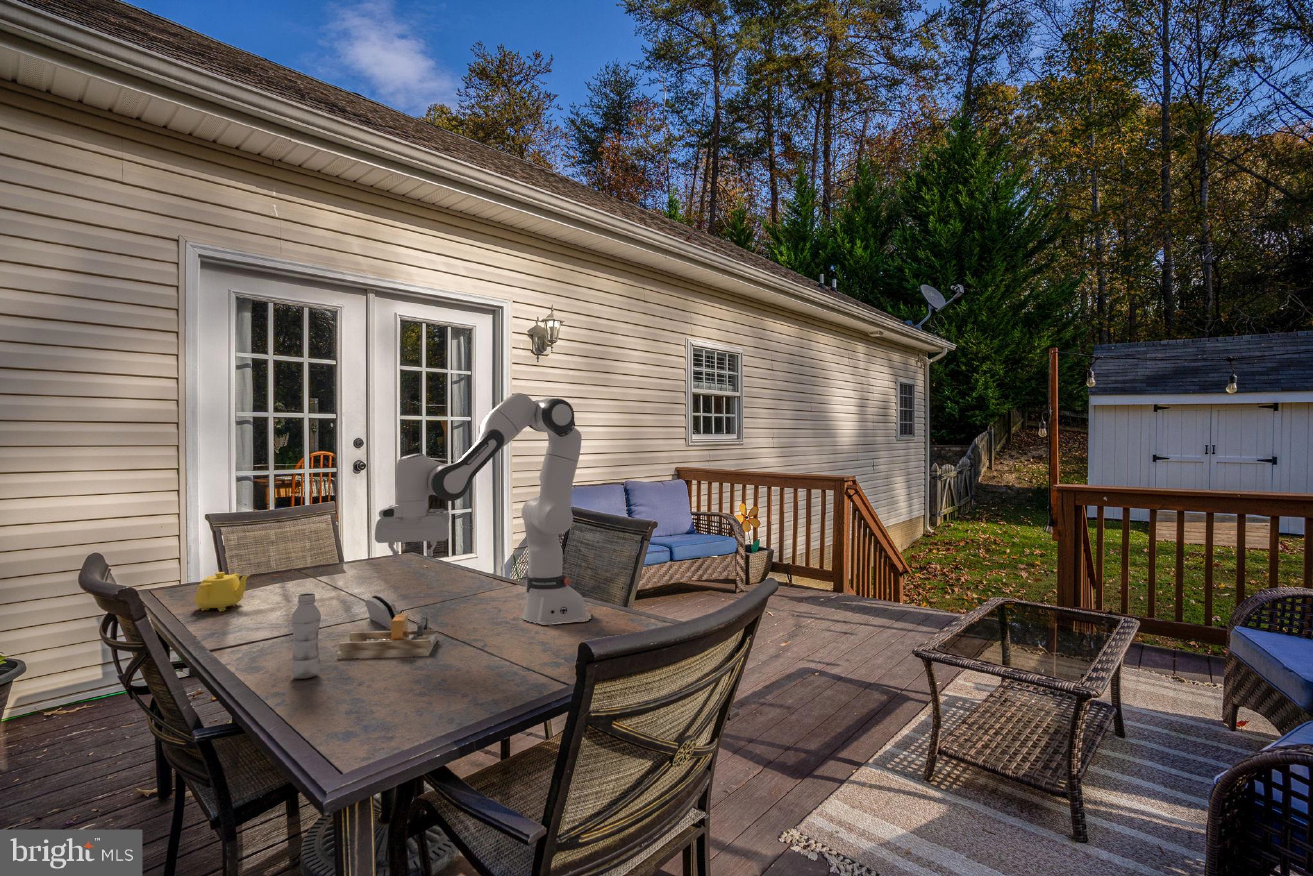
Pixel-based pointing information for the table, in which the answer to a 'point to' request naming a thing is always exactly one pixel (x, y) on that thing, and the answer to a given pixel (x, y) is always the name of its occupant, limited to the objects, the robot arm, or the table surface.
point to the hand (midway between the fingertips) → (412, 556)
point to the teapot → (220, 591)
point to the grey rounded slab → (381, 610)
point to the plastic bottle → (305, 638)
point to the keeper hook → (422, 626)
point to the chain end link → (404, 630)
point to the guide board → (384, 645)
